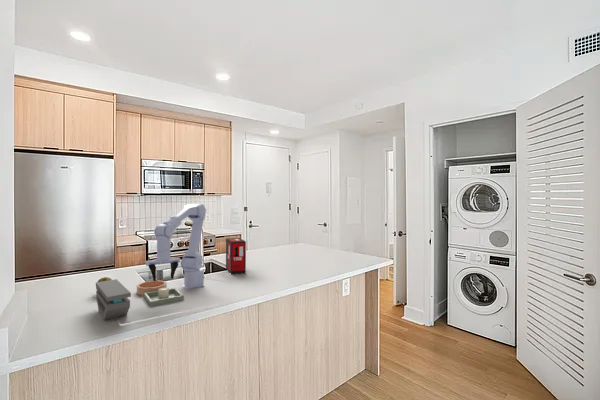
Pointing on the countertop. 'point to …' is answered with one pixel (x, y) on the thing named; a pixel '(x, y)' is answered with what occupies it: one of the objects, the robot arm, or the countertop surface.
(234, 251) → the cleaning product box
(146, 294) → the parts tray
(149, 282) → the bowl
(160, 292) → the cream rounded capsule
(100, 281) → the potato
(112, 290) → the grey storage case
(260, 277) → the countertop surface
